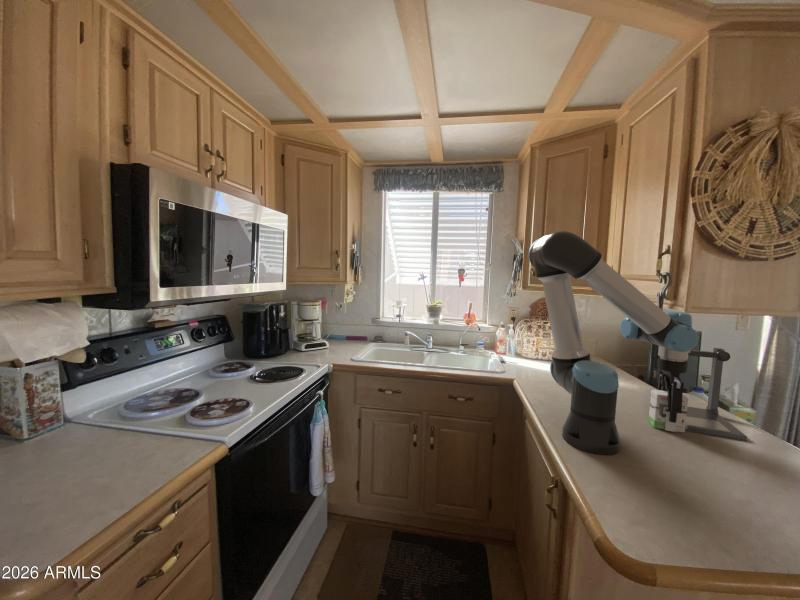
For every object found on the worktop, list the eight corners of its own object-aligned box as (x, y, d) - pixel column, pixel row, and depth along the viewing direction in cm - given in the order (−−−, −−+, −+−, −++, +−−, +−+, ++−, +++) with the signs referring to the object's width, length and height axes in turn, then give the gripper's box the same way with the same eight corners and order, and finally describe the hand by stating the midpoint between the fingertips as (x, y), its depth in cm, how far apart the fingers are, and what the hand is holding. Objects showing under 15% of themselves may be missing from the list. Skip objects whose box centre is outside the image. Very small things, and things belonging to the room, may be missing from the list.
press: (746, 441, 99) (755, 362, 97) (687, 430, 105) (694, 356, 103) (712, 414, 119) (720, 347, 116) (664, 406, 124) (670, 343, 122)
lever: (730, 362, 111) (731, 352, 111) (670, 356, 118) (671, 346, 117) (725, 360, 114) (726, 350, 114) (667, 354, 121) (668, 345, 120)
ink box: (653, 428, 107) (657, 394, 106) (647, 421, 111) (650, 389, 110) (685, 433, 104) (689, 397, 103) (677, 426, 108) (681, 392, 107)
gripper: (701, 368, 95) (693, 442, 97) (675, 353, 113) (669, 416, 115) (669, 364, 98) (662, 436, 100) (649, 350, 116) (643, 412, 118)
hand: (666, 425), depth 107 cm, fingers open, 7 cm apart
